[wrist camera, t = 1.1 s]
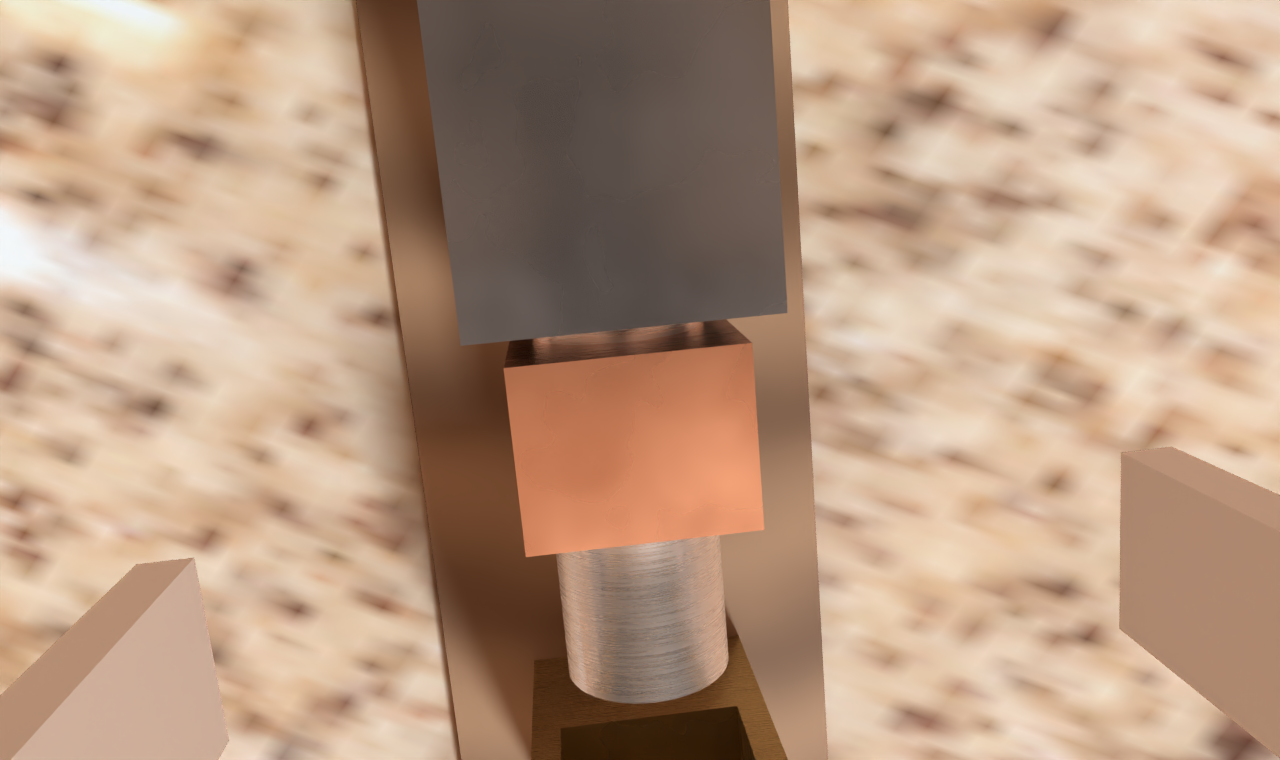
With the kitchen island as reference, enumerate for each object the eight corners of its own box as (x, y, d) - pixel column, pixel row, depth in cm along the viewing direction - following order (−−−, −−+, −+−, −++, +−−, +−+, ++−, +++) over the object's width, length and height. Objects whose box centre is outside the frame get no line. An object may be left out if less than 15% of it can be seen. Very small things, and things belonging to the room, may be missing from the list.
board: (351, -65, 29) (345, -72, 28) (776, -97, 29) (782, -104, 29) (473, 821, 35) (471, 836, 34) (823, 776, 35) (829, 789, 35)
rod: (476, -24, 25) (449, -92, 19) (676, -40, 26) (722, -112, 19) (549, 613, 29) (549, 752, 22) (724, 592, 29) (776, 723, 23)
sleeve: (453, -35, 29) (399, -146, 18) (685, -52, 29) (760, -171, 19) (491, 282, 31) (461, 345, 20) (707, 261, 31) (787, 312, 21)
